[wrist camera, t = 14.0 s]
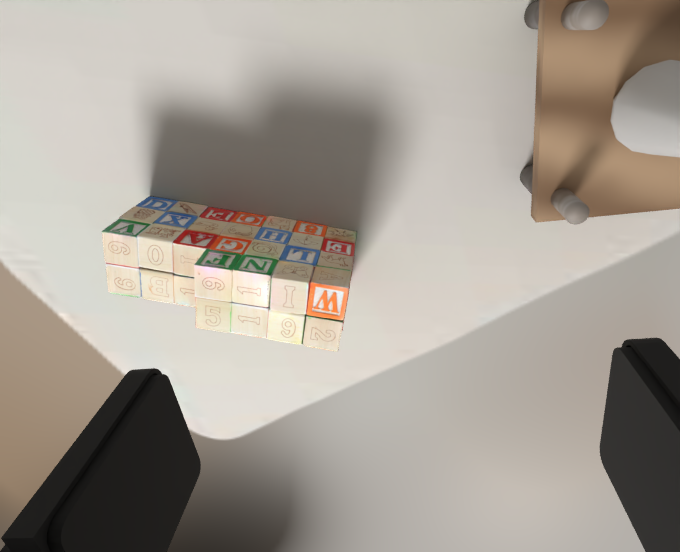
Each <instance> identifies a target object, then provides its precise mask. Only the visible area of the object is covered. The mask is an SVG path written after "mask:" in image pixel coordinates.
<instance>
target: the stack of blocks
mask: <svg viewBox="0 0 680 552" xmlns="http://www.w3.org/2000/svg"><path fill="white" fill-rule="evenodd" d="M356 235H357V232H356V231H350V230H344V229H339V228H333V227H328V226H326V225H321V224H315V223H309V222H303V221H297V220H292V219H287V218H281V217H275V216H263V215H256V214H251V213H245V212H236V211H230V210H225V209H218V208H213V207H208V206H207V205H201V204H195V203H189V202H183V201H176V200H170V199H164V198H158V197H152V196H150V197H148V198H146V199H145V200H144V201H142V202H141V203H139V204H138V205H136V207H133V208H132V209H130V210H129V211H127V212H126V213H124V214H123V215H122V216H120V218H119V219H118V220H117V221H115V222H114V223H113V224H111V225H110V226H108V227H107V228H106V229H104V230H103V231H102V239H103V248H104V259H105V262H106V273H107V282H108V291H109V293H112V294H119V295H126V296H132V297H142V298H143V299H147V300H153V301H159V302H166V303H172V304H173V303H175V304H177V305H183V306H190V307H196V328H200V329H207V330H214V331H219V332H226V333H236V334H241V335H248V336H254V337H260V338H267V339H269V340H275V341H281V342H287V343H294V344H303V345H304V346H308V347H313V348H319V349H325V350H331V351H338V348H339V342H340V337H341V332H342V330H343V323H344V317H345V312H346V306H347V300H348V294H349V288H350V281H351V275H352V267H353V260H354V250H355V241H356Z"/></svg>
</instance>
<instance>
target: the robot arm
mask: <svg viewBox="0 0 680 552" xmlns="http://www.w3.org/2000/svg"><path fill="white" fill-rule="evenodd" d="M600 456H601V460H602V463H603V466H604V468H605V470H606V472H607V474H608V476H609V478H610V480H611V482H612V484H613V486H614V488H615V490H616V492H617V494H618V496H619V498H620V500H621V502H622V505H623V507H624V509H625V511H626V513H627V515H628V517H629V519H630V521H631V523H632V525H633V527H634V529H635V531H636V533H637V535H638V537H639V539H640V541H641V543H642V545H643V547H644V549H645V551H646V552H680V359H679V358H678V357H677V356H676V354H675V353H674V352H673V351H672V350H671V349H670V348H669V347H668V346H667V344H666V343H665V342H664V341H663V340H662V339H660V338H646V339H629V340H626V341H624V343H623V344H622V347H621V348H615V349H614V351H613V355H612V362H611V369H610V377H609V384H608V391H607V399H606V405H605V413H604V420H603V427H602V434H601V441H600ZM199 474H200V459H199V456H198V453H197V450H196V448H195V445H194V443H193V440H192V438H191V435H190V432H189V430H188V427H187V424H186V422H185V419H184V417H183V414H182V411H181V409H180V406H179V404H178V401H177V398H176V396H175V393H174V391H173V388H172V385H171V383H170V380H169V378H168V377H167V376H166V375H164V374H163V375H162V373H161V371H159V370H158V369H155V368H154V369H138V370H131V371H129V372H128V373H127V374H126V375H125V376H124V378H123V379H122V380H121V382H120V383H119V384H118V386H117V387H116V388H115V390H114V391H113V392H112V393H111V395H110V396H109V398H108V399H107V400H106V401H105V403H104V404H103V405H102V407H101V408H100V409H99V411H98V412H97V413H96V415H95V416H94V417H93V418H92V420H91V421H90V422H89V424H88V425H87V426H86V428H85V429H84V430H83V431H82V433H81V434H80V436H79V437H78V438H77V439H76V441H75V442H74V443H73V445H72V446H71V447H70V449H69V450H68V451H67V452H66V454H65V455H64V456H63V458H62V459H61V460H60V462H59V463H58V464H57V466H56V467H55V468H54V469H53V471H52V472H51V473H50V475H49V476H48V477H47V479H46V480H45V481H44V483H43V484H42V486H41V487H40V488H39V489H38V490H37V492H36V493H35V494H34V496H33V497H32V498H31V500H30V501H29V502H28V504H27V505H26V506H25V508H24V509H23V510H22V512H21V513H20V514H19V515H18V517H17V518H16V519H15V521H14V522H13V523H12V525H11V526H10V527H9V528H8V530H7V531H6V533H5V534H4V535H3V536H2V538H1V539H2V540H3V542H4V543H5V546H4V547H3V548H2V550H1V551H0V552H167V550H168V547H169V545H170V543H171V540H172V538H173V536H174V533H175V531H176V528H177V526H178V524H179V522H180V519H181V517H182V514H183V512H184V509H185V507H186V505H187V503H188V500H189V498H190V496H191V493H192V491H193V489H194V486H195V484H196V482H197V479H198V477H199Z"/></svg>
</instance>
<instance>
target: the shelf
mask: <svg viewBox="0 0 680 552" xmlns="http://www.w3.org/2000/svg"><path fill="white" fill-rule="evenodd" d="M524 20H525V23H526V25H527V26H528V27H529V28H531V29H538V49H537V75H536V101H535V127H534V152H533V165H530V166H527V167H526V168H524V169H523V170H522V172H521V174H520V180H521V182H522V184H523V185H524V186H525V187H526V188H527V189H528V191H529V192H530V193H531V194H532V204H531V216H532V218H533V219H534V220H535V222H545V221H556V220H567V221H568V222H569V223H571V224H580V223H582V222H584V221H585V220H586V219H587V218H588V217H597V216H607V215H617V214H628V213H638V212H648V211H659V210H669V209H679V208H680V157H671V156H661V155H652V154H646V153H640V152H634V151H631V150H630V149H629V148H627V147H626V146H625V145H623V144H622V143H621V142H619V141H618V140H617V139H616V137H615V134H614V131H613V127H612V124H611V113H612V106H613V99H614V98H615V97H616V95H617V94H618V93H619V91H620V90H621V88H622V87H623V85H624V84H625V82H626V81H627V80H629V79H630V78H631V77H632V76H634V75H635V74H636V73H637V72H638V71H640V70H641V69H642V68H643V67H646V66H649V65H653V64H656V63H659V62H663V61H666V60H676V61H680V0H538V1H535V2H533V3H531V4H530V5H529V6H528V8H527V9H526V11H525V15H524Z"/></svg>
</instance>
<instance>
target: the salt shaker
mask: <svg viewBox="0 0 680 552" xmlns="http://www.w3.org/2000/svg"><path fill="white" fill-rule="evenodd" d="M611 124H612V127H613V131H614V134H615V137H616V139H617V140H618V141H619V142H621V143H622V144H623V145H625V146H626V147H627V148H629V149H630V150H631V151H634V152H640V153H646V154H652V155H661V156H671V157H680V61H676V60H666V61H663V62H659V63H656V64H653V65H649V66H646V67H643V68H642V69H641V70H640V71H638V72H637V73H636V74H635V75H634V76H632V77H631V78H630V79H629V80H627V81H626V82H625V84H624V85H623V87H622V88H621V90H620V91H619V93H618V94H617V95H616V97H615V98H614V99H613V106H612V113H611Z"/></svg>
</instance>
